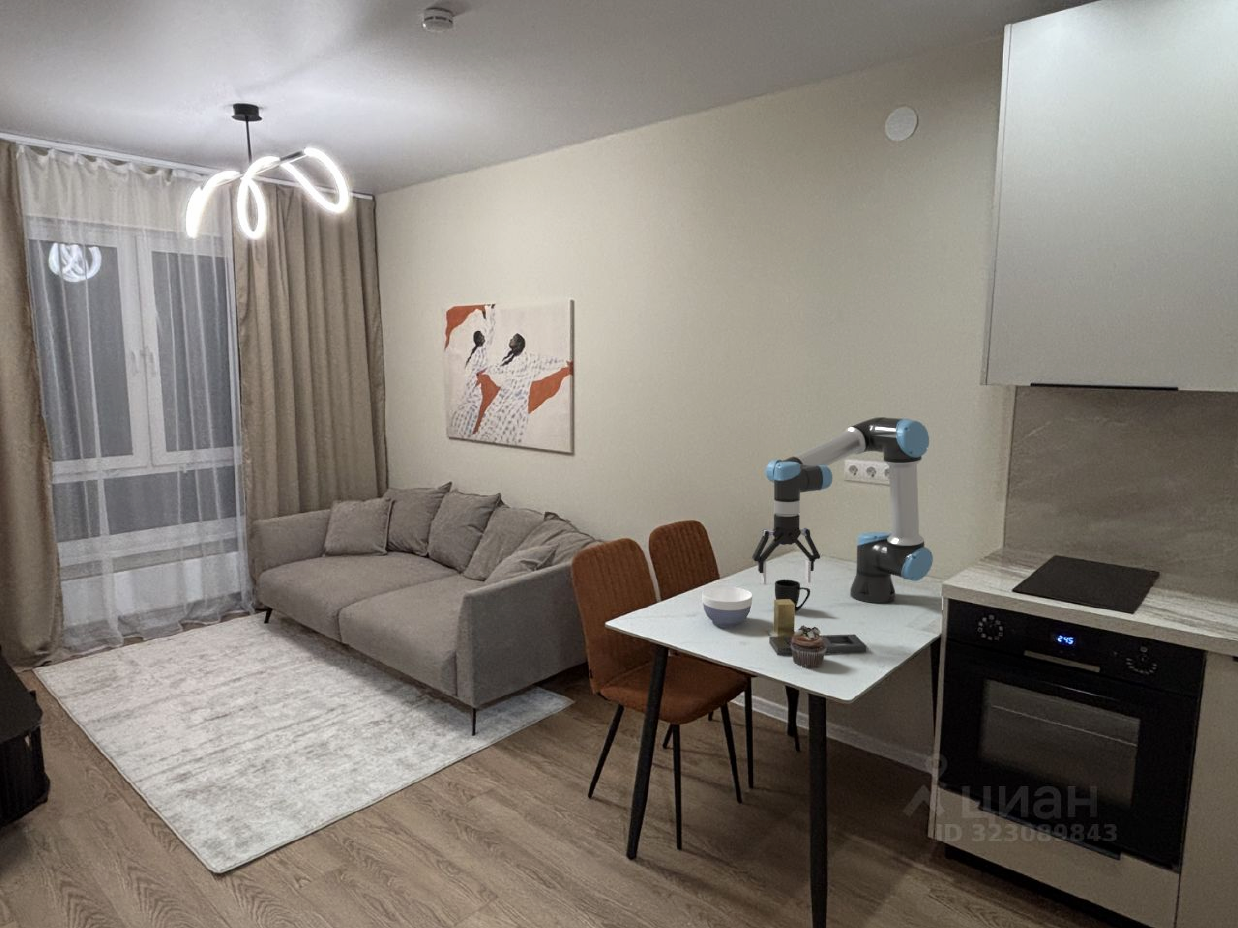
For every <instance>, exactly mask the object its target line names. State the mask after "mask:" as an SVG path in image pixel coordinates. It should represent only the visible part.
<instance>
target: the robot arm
mask: <svg viewBox="0 0 1238 928" xmlns="http://www.w3.org/2000/svg"><path fill="white" fill-rule="evenodd" d="M929 445H930V435H929V431H928V430H927V427H926V426H925V425H924V424H923V423H921V422H920V421H918V420H913V419H909V418H895V417H894V418H893V417H883V416H881V417H873V418H870V419H867V420H864V421H862V422H859V423H855V424H854V425H851V426H849V427H847V428H845V430H844V432H843V433H841V434H839V435H836V436H835V437H832V438H831V439H830V438H829V439H828V440H827V441H824V442H821V443H820V444H817V445H814V446H813V447H810V448H809V449H806V450H803V451H802V452H800V453H798V454H797V453H796V454H795V455H793V456H790V457H788V458H786V459H784V460H783V459H782V460H781V459H773V460H771V461H770V462H769V463H768V464H767V465H766V468H765V475H766V479H767V480H768V481H769V482H771V483H773V491H774V492H773V512H774V514H773V529H772V530H767V528H765V529H762V530H763V531H762V537H761V539H760V540H759V543H758V545H757V547H756V548H755V550H754V553H753V554H752V556H751V557H752V559H753V561H754V562H757V563H758V566H757V567H758V569H757V570H758V571H757V572H759V574H761V580H760V581H761V583H762V585H767V563H766V560H767V559H768V558H769V557H770V556H771V554H772V553H773V552H774V551H775V549H776V548H777V547H779V545H781V546H785V545H790V546H791V545H793V544H796V546H797V547H798V548H799V549H800V551H801V552H802V553H803V554H804V555H805V556H806V558H807V559H805V567H804V568H805V570H804V571H805V572H804V573H805V574H804V575H805V576H804V579H805V581H806V582H807V583H811V581H812V580H811V579H812V578H811V577H812V576H811V574H812V572H814V569H815V562H816V560H820V559H821V555H820V553H819V551H818V548H817V547H816V545H815V543H814V541H813V539H812V536H811V530H810V529H809V528H807V527H804V528H803V529H800V515H799V513H800V512H801V510H800V509H801V508H800V507H801V506H800V504H801V502H800V501H801V500H800V499H801V494H802V493H808V492H815V491H816V492H817V491H819V492H820V491H822V490H825V489H828V488H830V486H831V485H832V483H833V473H832V471H831V469H830V467H828V466H830V465H832V464H834V463H837V462H839V461H841V460H843V459H845V458H847V457H850V456H851V455H861V454H863V453H867V452H877V453H883V462H885V464H886V465H888V474H889V475H888V476H889V477H888V478H889V479H888V480H889V494H890V495H889V499H890V503H889V504H890V521H891V522H890V523H891V525H890V526H891V532H885V531H882V532H881V531H876V532H875V531H874V532H873V531H872V532H864V533H861V534H859V535H858V537H857V544H856V569H855V570H856V573H855V576H854V578H853V581H852V584H851V585H850V586H851V587H850V590H849V592H850V593H849V595H850V597H852V598H853V599H855V600H857V601H860V602H864V603H870V604H871V603H873V604H888V603H892V602H894V601H895V600H896V590H895V587H894V583H893V580H892V576H895V577H899V578H902V579H903V580H910V581H913V582H915V581H916V582H917V581H920V580H921V579H922V580H923V578H925V577H926V576H927V575H928V573H929V572H930V570H931V568H932V565H933V560H934V556H933V553H932V551H931V550H930V548H928V547H925V538H924V537H923V536H922V534H920V520H919V517H920V516H919V495H918V493H919V492H918V491H919V490H918V464H919V463H920V462H921V461H922V456H924V455H925V454H926V452H927V451H928V449H927V448H929ZM801 535H802V536H803V537H804V539H805V541H806V543H807V544H808V547H809V549H810V551H811V552H812V554H811V553H810V552H809V550H808V549H807V548H806V547H805V546H804V545H803V544H802V542H801V541H800V540H799V537H800V536H801ZM771 536H773V537H774V538H773V539H772V540H771V542H770V544H769V545H768V546H767V547H766V548H765V546H766V545H767V543H768V541H769V538H771ZM763 550H764V551H763Z"/></svg>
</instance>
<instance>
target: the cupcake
mask: <svg viewBox="0 0 1238 928" xmlns="http://www.w3.org/2000/svg"><path fill="white" fill-rule="evenodd" d="M820 634H821V630H820V629H819V628H818V627H816V626H813V627H807V626H806V625H803V624H802V625H800V628H798V629H797V630H796V631H795V634H794V635H793V637H792V642H791V644H790V646H791V649H792V660H793V663H794V664H795V665H796V664H797V665H796V666H799V667H801V666H802V667H801V668H805V667H806V669H817V668H820V667H822V666H823V663H824V659H825V655H826V654H825V651H826V646H825V644H824V643H823V638H822V637H821V636H820Z"/></svg>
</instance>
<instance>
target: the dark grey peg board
mask: <svg viewBox="0 0 1238 928" xmlns="http://www.w3.org/2000/svg"><path fill="white" fill-rule="evenodd" d="M819 635H820V634H819ZM820 636H821V637H822V638H823V643H824V644H825V646H826V651H825V653H826V654H827V653H830V654H856V653H857V654H858V653H859V654H860V653H862V654H865V653H867V645H866V644H865V642H863V641H862V640H861V639H860V638H859V637H858V636H857V635H856V634H827V635H826V634H825V635H820ZM792 637H793V636H782V637H771V636H769V637H768V638H769V639H768V641H769V642H768V643H769V645H770V647H771V648H772V649H773V651H774V652H775V654H776V655H777V656H788V655H792V649H791V642H792ZM845 643H847V644H845ZM826 654H825V655H826ZM827 655H828V654H827ZM792 656H793V655H792Z"/></svg>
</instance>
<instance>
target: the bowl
mask: <svg viewBox="0 0 1238 928" xmlns="http://www.w3.org/2000/svg"><path fill="white" fill-rule="evenodd" d="M701 596H702V597H701V598H702V601H701V602H702V605H703V610H704V612H705V615H706V616H707V618H708V619H710V621H711V622H712V624H713V625H714V626H716V627H720V628H729V629H730V628H736V627H739V626H740V625H741V624H742V622H744V621H745V620H746V619H747V617H748V616H749V614H750V612H751V607H752V603H753V602H752V601H753V594H752V592H751V591H749V590H747V589H743V588H740V587H735V586H715V587H714V586H713V587H708V588H706V589H704V590H703V591H702V593H701Z"/></svg>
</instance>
